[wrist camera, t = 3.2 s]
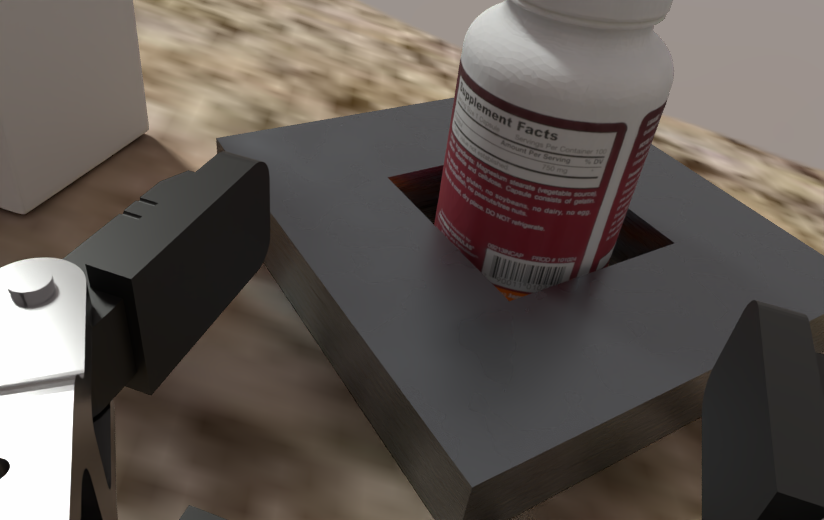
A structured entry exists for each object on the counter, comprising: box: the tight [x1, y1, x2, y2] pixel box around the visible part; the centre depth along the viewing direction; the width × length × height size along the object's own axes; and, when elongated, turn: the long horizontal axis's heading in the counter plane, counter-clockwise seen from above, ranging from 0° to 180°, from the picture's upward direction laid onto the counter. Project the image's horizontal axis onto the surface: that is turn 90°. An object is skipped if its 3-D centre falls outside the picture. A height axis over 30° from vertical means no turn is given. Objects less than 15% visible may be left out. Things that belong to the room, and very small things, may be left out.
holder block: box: [216, 98, 824, 520], centre depth 25 cm, size 16×16×2 cm
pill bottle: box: [434, 0, 674, 301], centre depth 22 cm, size 6×6×11 cm
